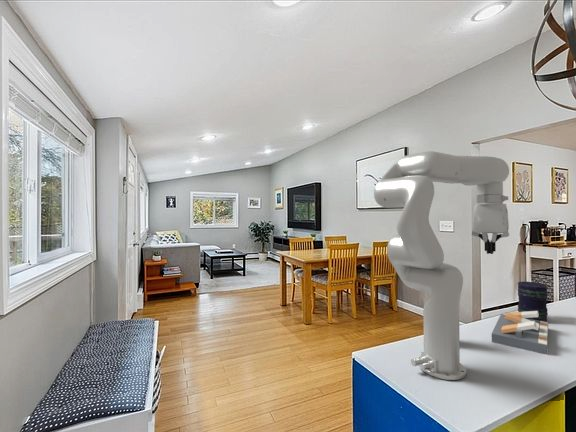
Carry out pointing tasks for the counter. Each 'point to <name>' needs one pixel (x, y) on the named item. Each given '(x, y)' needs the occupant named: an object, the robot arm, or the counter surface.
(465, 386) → the counter surface
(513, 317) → the switch
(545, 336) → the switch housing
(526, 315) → the switch
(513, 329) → the switch
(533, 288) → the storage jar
